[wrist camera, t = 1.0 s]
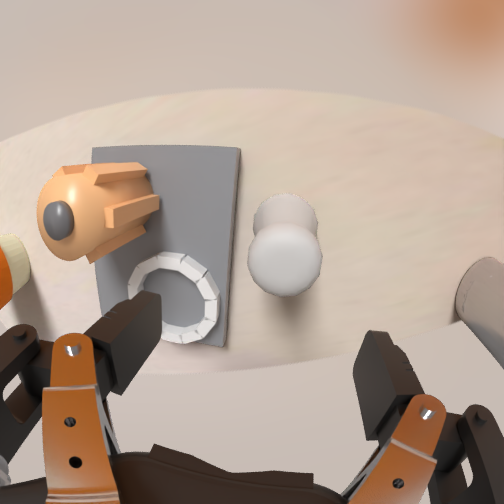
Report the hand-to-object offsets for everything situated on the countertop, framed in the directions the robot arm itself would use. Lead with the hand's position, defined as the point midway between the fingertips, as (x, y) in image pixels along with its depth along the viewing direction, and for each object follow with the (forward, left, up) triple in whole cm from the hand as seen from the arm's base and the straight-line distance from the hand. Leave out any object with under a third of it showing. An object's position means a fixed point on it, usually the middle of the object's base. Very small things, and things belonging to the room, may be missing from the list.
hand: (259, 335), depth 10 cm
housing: (+12, +3, -18) cm, 22 cm away
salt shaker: (-1, -1, -19) cm, 19 cm away
